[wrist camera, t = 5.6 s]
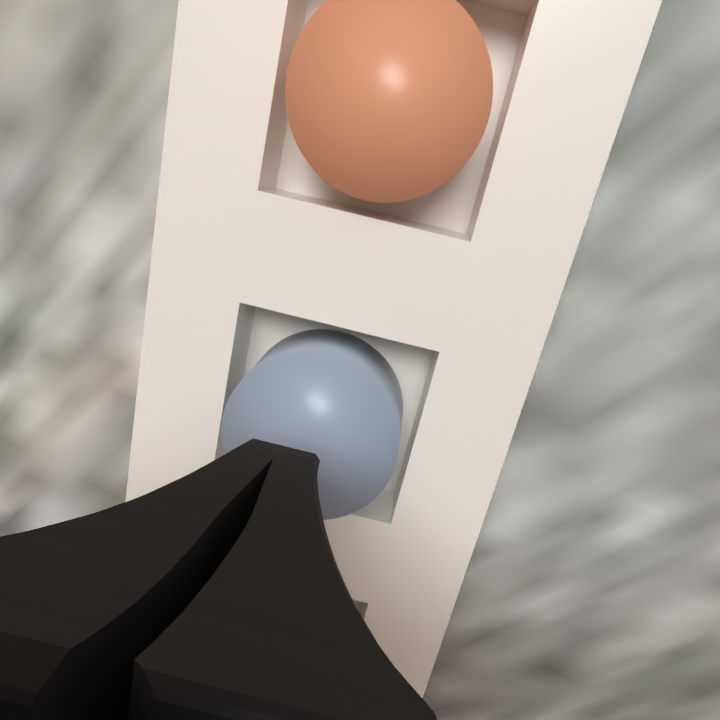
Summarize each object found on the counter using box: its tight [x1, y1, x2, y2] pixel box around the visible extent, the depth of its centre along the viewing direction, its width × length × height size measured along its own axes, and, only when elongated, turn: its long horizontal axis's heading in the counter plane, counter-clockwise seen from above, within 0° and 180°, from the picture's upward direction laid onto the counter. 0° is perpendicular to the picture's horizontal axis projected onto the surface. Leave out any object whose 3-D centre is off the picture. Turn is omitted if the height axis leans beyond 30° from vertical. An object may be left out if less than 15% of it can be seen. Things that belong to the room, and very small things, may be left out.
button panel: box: [125, 0, 662, 698], centre depth 17 cm, size 10×24×3 cm, turn 167°
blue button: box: [221, 329, 403, 520], centre depth 16 cm, size 4×4×2 cm
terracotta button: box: [285, 0, 493, 203], centre depth 14 cm, size 4×4×2 cm
